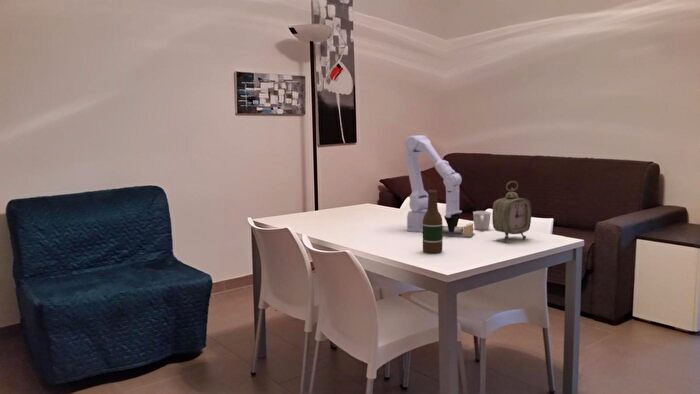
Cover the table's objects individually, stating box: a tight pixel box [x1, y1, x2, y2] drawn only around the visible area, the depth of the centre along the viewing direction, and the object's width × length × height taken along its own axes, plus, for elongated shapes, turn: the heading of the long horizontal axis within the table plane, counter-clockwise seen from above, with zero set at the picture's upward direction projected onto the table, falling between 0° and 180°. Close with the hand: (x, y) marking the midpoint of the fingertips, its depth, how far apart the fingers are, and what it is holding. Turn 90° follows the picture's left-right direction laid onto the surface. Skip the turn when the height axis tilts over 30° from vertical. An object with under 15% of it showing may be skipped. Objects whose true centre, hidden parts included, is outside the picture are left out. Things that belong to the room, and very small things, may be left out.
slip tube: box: [442, 225, 464, 234], centre depth 243 cm, size 11×3×3 cm, turn 64°
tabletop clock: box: [491, 180, 532, 243], centre depth 229 cm, size 14×9×25 cm, turn 122°
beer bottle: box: [422, 189, 443, 255], centre depth 211 cm, size 8×8×24 cm
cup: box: [472, 210, 492, 231], centre depth 253 cm, size 11×8×8 cm
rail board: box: [442, 222, 476, 239], centre depth 243 cm, size 19×8×5 cm, turn 64°
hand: (452, 231), depth 243 cm, fingers closed on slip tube, 3 cm apart
